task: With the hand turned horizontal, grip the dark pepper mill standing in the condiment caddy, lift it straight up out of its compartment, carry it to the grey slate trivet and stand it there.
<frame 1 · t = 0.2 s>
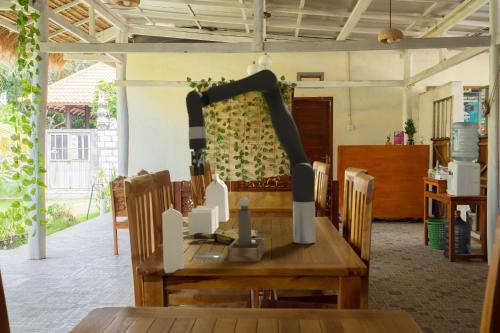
hand: (199, 175, 199), 29 cm above the table, tool pointing down, fingers open, 8 cm apart
pepper mill: (245, 258, 163), point 1 cm above the table, touching caddy
caddy: (247, 258, 168), on the table
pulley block: (227, 242, 199), on the table
storage container: (204, 231, 227), on the table
milk: (173, 270, 153), on the table
trivet: (209, 258, 169), on the table
milk 2: (217, 220, 260), on the table
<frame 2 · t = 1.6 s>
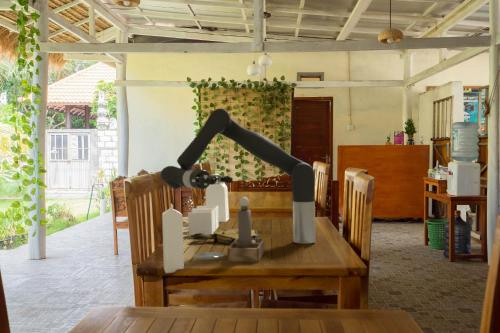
hand: (223, 180, 170), 28 cm above the table, tool horizontal, fingers open, 8 cm apart
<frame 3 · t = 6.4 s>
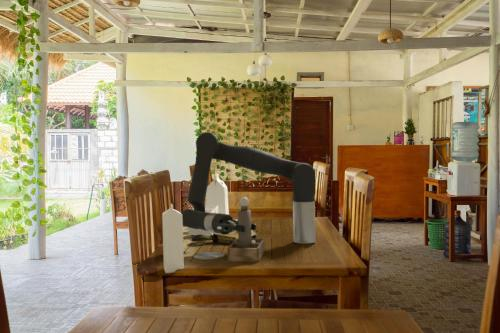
hand: (250, 228, 161), 12 cm above the table, tool horizontal, fingers closed on pepper mill, 4 cm apart
pepper mill: (245, 258, 163), point 1 cm above the table, touching caddy, gripper
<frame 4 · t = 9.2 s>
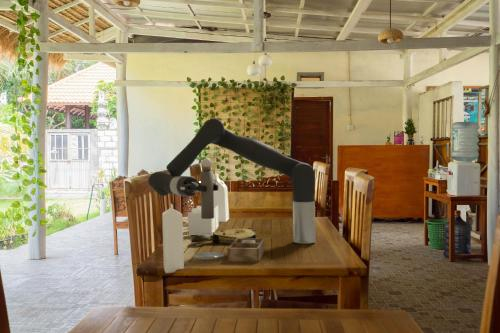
hand: (211, 188, 166), 26 cm above the table, tool horizontal, fingers closed on pepper mill, 4 cm apart
pepper mill: (207, 217, 168), point 15 cm above the table, touching gripper
when the fingers open (13 cm above the table, at t = 12.0 s): pepper mill stays where it is, resting on trivet.
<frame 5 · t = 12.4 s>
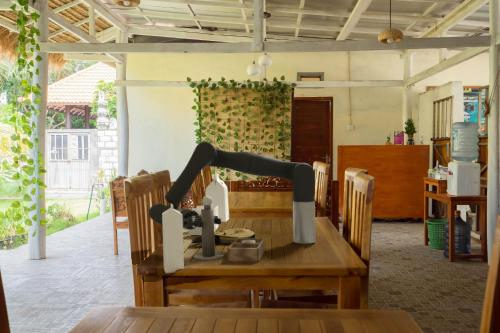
hand: (211, 222, 167), 13 cm above the table, tool horizontal, fingers open, 8 cm apart
pepper mill: (208, 255, 169), point 1 cm above the table, touching trivet
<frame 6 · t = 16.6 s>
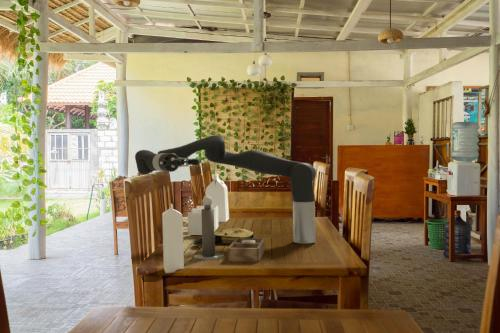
hand: (189, 162, 176), 35 cm above the table, tool horizontal, fingers open, 8 cm apart
at the end: pepper mill inside the target area on the trivet (0.1 cm from its centre), point 1.0 cm above the trivet's base; pepper mill tilted 0°; the gripper is holding nothing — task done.
